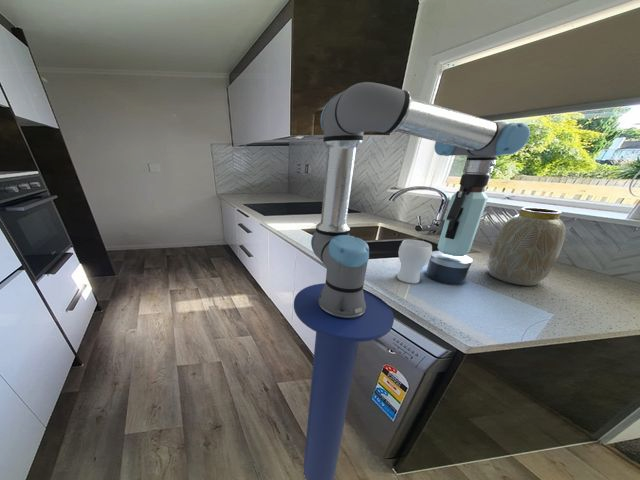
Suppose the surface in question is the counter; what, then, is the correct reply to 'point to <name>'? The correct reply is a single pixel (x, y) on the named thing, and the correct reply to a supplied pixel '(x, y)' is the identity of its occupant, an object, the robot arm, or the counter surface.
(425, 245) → the cup
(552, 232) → the vase
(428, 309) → the counter surface
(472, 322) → the counter surface
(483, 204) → the water bottle
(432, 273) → the navy round container
